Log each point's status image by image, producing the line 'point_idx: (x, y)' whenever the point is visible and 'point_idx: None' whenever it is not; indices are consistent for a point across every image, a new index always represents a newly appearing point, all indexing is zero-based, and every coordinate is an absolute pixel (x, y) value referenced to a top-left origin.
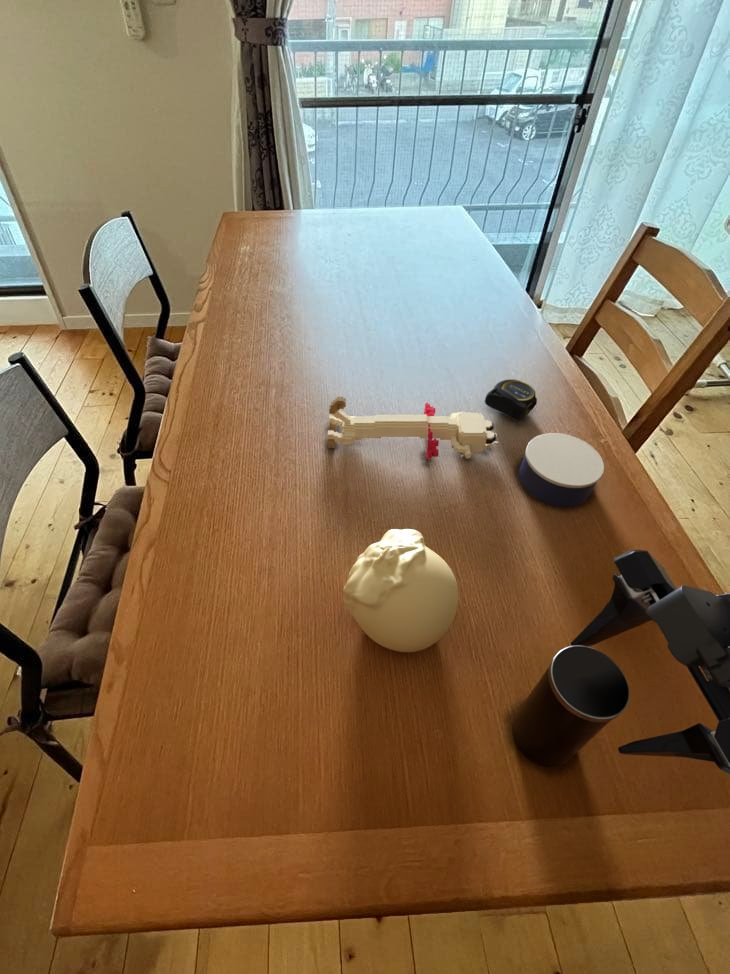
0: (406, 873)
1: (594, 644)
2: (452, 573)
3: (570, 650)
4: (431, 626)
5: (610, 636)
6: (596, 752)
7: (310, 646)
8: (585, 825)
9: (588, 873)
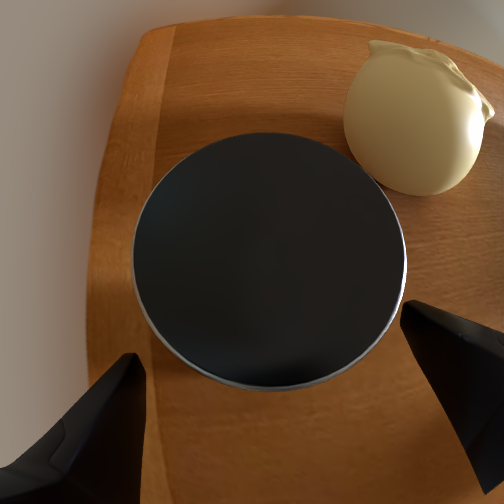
0: (120, 156)
1: (418, 363)
2: (466, 146)
3: (377, 200)
4: (375, 111)
5: (443, 399)
6: (239, 403)
7: (331, 85)
8: (141, 355)
9: (95, 339)
